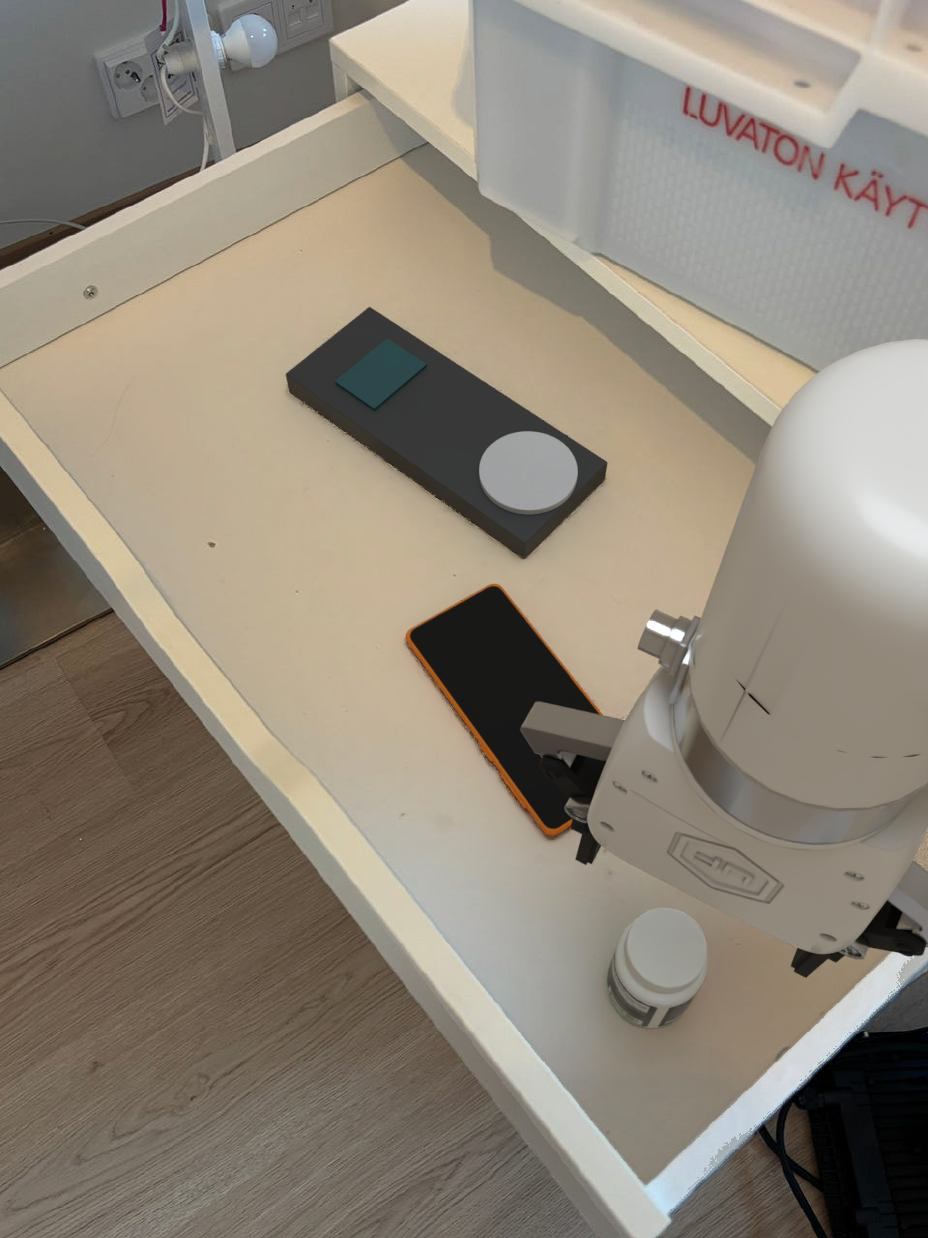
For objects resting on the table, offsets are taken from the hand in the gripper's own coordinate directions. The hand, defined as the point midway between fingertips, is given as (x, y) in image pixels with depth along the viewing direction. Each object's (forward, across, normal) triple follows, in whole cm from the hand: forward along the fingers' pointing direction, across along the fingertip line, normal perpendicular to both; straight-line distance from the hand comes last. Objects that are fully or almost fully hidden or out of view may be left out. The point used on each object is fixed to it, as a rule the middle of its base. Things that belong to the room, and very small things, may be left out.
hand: (701, 886), depth 48 cm
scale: (+18, -29, +29) cm, 45 cm away
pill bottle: (+18, 0, 0) cm, 18 cm away
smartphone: (+18, -14, +12) cm, 26 cm away
